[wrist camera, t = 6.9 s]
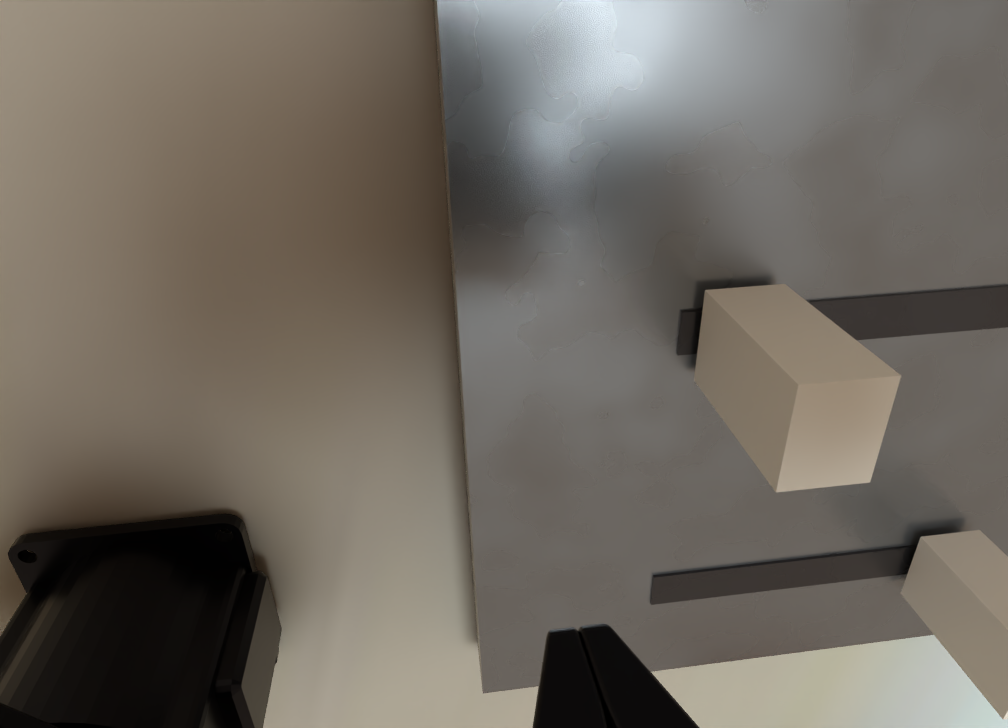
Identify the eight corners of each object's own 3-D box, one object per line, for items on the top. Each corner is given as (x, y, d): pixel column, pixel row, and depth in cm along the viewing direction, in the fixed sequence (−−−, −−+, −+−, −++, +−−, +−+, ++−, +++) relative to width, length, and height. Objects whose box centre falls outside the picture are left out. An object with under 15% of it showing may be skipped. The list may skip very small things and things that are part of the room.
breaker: (900, 593, 23) (1003, 719, 19) (920, 536, 22) (1034, 659, 18) (956, 586, 23) (1069, 710, 19) (979, 529, 22) (1105, 648, 18)
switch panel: (477, 643, 25) (483, 695, 23) (409, -351, 12) (410, -409, 10) (1037, 574, 27) (1083, 617, 25) (1475, -335, 14) (1631, -382, 12)
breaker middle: (694, 379, 18) (775, 492, 14) (705, 289, 16) (798, 385, 13) (768, 373, 18) (869, 482, 14) (784, 283, 17) (900, 375, 13)
